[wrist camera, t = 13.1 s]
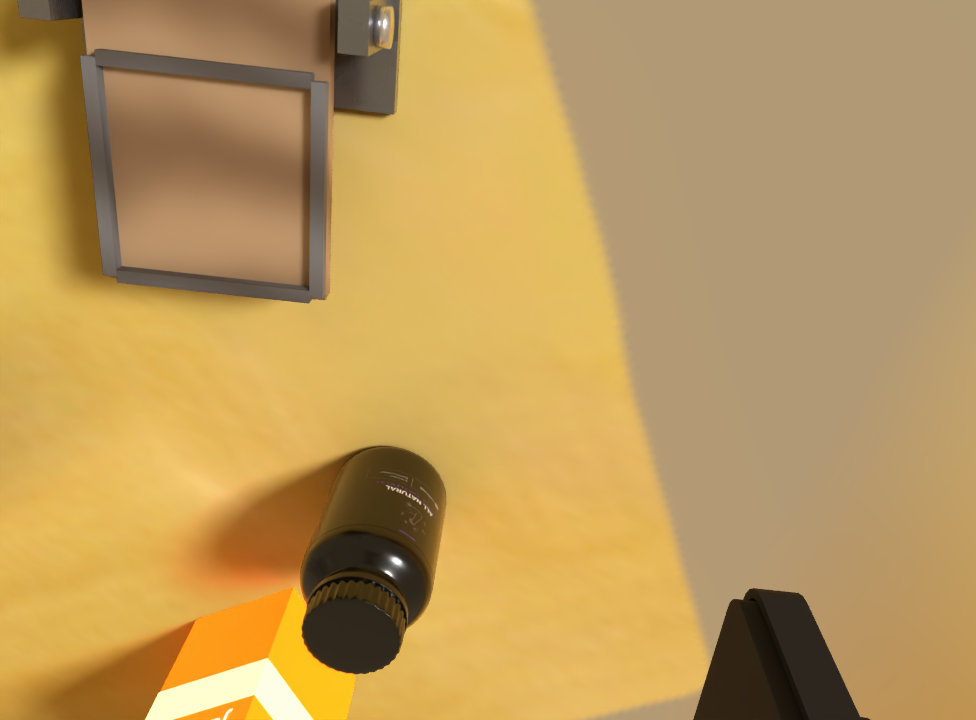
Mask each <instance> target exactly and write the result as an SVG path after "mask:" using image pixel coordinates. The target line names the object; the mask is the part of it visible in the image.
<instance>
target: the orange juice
mask: <svg viewBox="0 0 976 720" xmlns="http://www.w3.org/2000/svg"><path fill="white" fill-rule="evenodd" d="M306 607H307V606H306V604H305V603H304V601H303V600H302V598H301V597H300V596H299V594H298V593H297V591H296V590H295V588H294V587H293V588H290V589H287V590H284V591H281V592H278V593H275V594H272V595H269V596H266V597H263V598H260V599H257V600H254V601H251V602H248V603H245V604H242V605H239V606H236V607H233V608H230V609H227V610H224V611H221V612H218V613H215V614H212V615H209V616H206V617H203V618H200V619H197V620H196V621H195V623H194V625H193V627H192V629H191V631H190V633H189V635H188V637H187V639H186V641H185V643H184V645H183V647H182V649H181V651H180V653H179V655H178V657H177V659H176V661H175V663H174V665H173V667H172V669H171V671H170V673H169V675H168V677H167V679H166V681H165V683H164V685H163V687H162V689H161V691H160V692H159V693H158V695H157V697H156V699H155V701H154V703H153V705H152V707H151V709H150V711H149V713H148V715H147V717H146V719H145V720H346V719H347V714H348V710H349V706H350V701H351V697H352V693H353V688H354V684H355V680H356V677H355V676H354V674H352V673H349V674H346V673H344V672H338V671H335V670H334V669H331V668H328V667H327V666H325V665H324V664H321V663H320V662H319V661H318V660H317V659H315V658H313V656H312V654H311V653H310V652H308V651H307V647H306V646H305V645H304V640H303V638H302V637H301V635H302V630H301V626H302V623H303V618H304V615H305V612H306Z"/></svg>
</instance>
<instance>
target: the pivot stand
mask: <svg viewBox="0 0 976 720" xmlns="http://www.w3.org/2000/svg"><path fill="white" fill-rule="evenodd" d="M18 7H19V14H20V17H23V18H32V19H41V20H50V21H52V20H63V19H74V18H82V26H83V35H84V44H85V53H86V55H87V48H86V38H85V28H84V19H83V9H82V0H18ZM401 13H402V0H336V9H335V58H334V106H333V108H341V109H350V110H359V111H367V112H376V113H385V114H395V113H396V110H397V90H398V71H399V52H400V32H401Z"/></svg>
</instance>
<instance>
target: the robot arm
mask: <svg viewBox="0 0 976 720" xmlns="http://www.w3.org/2000/svg"><path fill="white" fill-rule="evenodd" d="M693 720H870V719H868V718H863V717H860V716H859V714H858V711H857V709H856V707H855V705H854V703H853V701H852V698H851V696H850V694H849V692H848V690H847V688H846V686H845V683H844V681H843V679H842V677H841V675H840V673H839V671H838V668H837V666H836V664H835V662H834V660H833V658H832V655H831V653H830V651H829V649H828V647H827V645H826V643H825V640H824V638H823V636H822V634H821V632H820V630H819V627H818V625H817V623H816V621H815V619H814V617H813V615H812V612H811V610H810V608H809V606H808V604H807V602H806V600H805V599H804V597H803V596H802V595H800V594H799V593H792V592H782V591H773V590H764V589H755V588H753V589H749V591H748V592H747V593H746V594H745V597H744V599H743V600H739V599H733V600H732V601H731V602H730V604H729V607H728V609H727V612H726V616H725V619H724V622H723V625H722V629H721V632H720V635H719V638H718V642H717V645H716V648H715V651H714V655H713V658H712V661H711V664H710V667H709V671H708V674H707V677H706V680H705V684H704V687H703V690H702V693H701V697H700V700H699V703H698V706H697V710H696V713H695V716H694V719H693Z"/></svg>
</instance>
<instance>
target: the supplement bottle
mask: <svg viewBox="0 0 976 720" xmlns="http://www.w3.org/2000/svg"><path fill="white" fill-rule="evenodd" d="M445 508H446V491H445V487H444V484H443V481H442V479H441V477H440V475H439V474H438V472H437V471H436V470H435V468H434V467H433V466H432V465H431V464H430V463H429V462H427V461H426V460H425V459H424V458H422V457H421V456H419V455H417V454H415V453H413V452H411V451H408V450H405V449H401V448H396V447H377V448H372V449H368V450H365V451H362V452H360V453H358V454H356V455H355V456H353V457H352V458H351V459H349V460H348V461H347V462H346V463H345V464H344V465H343V467H342V468H341V469H340V471H339V473H338V474H337V476H336V479H335V481H334V483H333V486H332V488H331V491H330V493H329V496H328V498H327V501H326V503H325V506H324V508H323V511H322V513H321V516H320V518H319V521H318V523H317V526H316V528H315V531H314V533H313V536H312V538H311V541H310V543H309V546H308V548H307V551H306V554H305V556H304V559H303V562H302V566H301V571H300V586H301V590H302V594H303V597H304V599H305V601H306V603H307V607H306V612H305V615H304V618H303V623H302V626H301V630H302V635H301V637H302V638H303V640H304V645H305V646H306V647H307V651H308V652H310V653H311V654H312V656H313V658H315V659H317V660H318V661H319V662H320V663H321V664H324V665H325V666H327V667H328V668H331V669H334V670H335V671H338V672H344V673H346V674H349V673H352V674H360V673H362V674H366V673H369V672H375V671H377V670H378V669H383V668H384V666H386V665H389V664H390V662H391V661H392V660H394V659H395V658H396V654H398V653H399V651H400V648H401V644H402V642H403V637H404V633H405V631H406V629H407V628H408V627H410V626H411V625H412V624H414V623H415V622H416V621H417V620H418V619H419V618H420V617H421V615H422V614H423V613H424V611H425V610H426V608H427V606H428V604H429V601H430V598H431V594H432V590H433V584H434V578H435V572H436V566H437V559H438V553H439V547H440V541H441V535H442V529H443V522H444V516H445Z"/></svg>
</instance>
